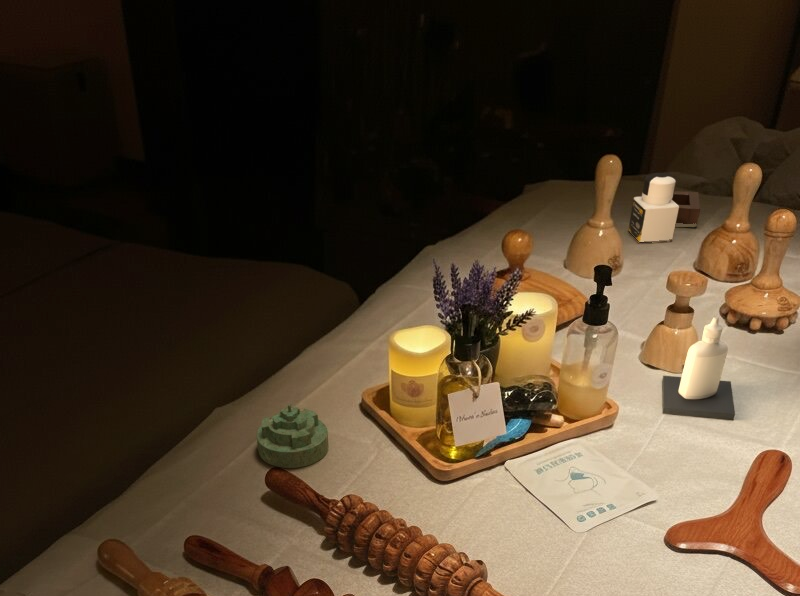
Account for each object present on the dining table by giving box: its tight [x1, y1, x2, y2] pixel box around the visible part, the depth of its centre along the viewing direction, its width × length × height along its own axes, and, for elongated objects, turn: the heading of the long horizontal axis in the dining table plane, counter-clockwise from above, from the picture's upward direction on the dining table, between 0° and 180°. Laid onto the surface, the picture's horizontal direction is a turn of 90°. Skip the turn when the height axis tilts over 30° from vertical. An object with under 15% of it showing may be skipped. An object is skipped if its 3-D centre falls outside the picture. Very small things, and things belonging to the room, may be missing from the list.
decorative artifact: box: [256, 403, 330, 469], centre depth 122 cm, size 10×7×10 cm
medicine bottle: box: [627, 172, 679, 243], centre depth 178 cm, size 7×7×12 cm
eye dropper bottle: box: [679, 316, 729, 399], centre depth 127 cm, size 4×6×12 cm
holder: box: [672, 190, 701, 225], centre depth 188 cm, size 11×11×4 cm
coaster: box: [661, 375, 736, 421], centre depth 131 cm, size 10×10×1 cm
